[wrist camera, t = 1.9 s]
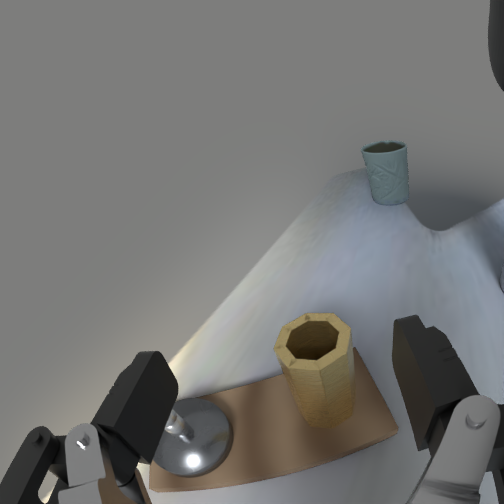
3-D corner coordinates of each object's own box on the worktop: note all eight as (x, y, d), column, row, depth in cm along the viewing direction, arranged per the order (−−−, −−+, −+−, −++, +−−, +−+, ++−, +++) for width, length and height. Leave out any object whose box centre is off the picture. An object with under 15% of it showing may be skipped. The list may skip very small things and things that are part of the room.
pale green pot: (408, 187, 61) (402, 138, 55) (415, 205, 53) (410, 149, 47) (368, 191, 65) (360, 143, 59) (370, 209, 57) (361, 154, 52)
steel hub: (217, 392, 29) (193, 360, 26) (247, 457, 22) (223, 433, 19) (148, 422, 27) (118, 394, 24) (164, 488, 20) (127, 468, 17)
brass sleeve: (335, 373, 27) (322, 303, 22) (365, 406, 23) (364, 340, 18) (291, 400, 26) (264, 336, 21) (318, 437, 21) (299, 382, 17)
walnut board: (355, 355, 30) (353, 325, 27) (396, 433, 20) (403, 411, 18) (159, 412, 30) (137, 389, 28) (157, 492, 20) (128, 477, 18)
